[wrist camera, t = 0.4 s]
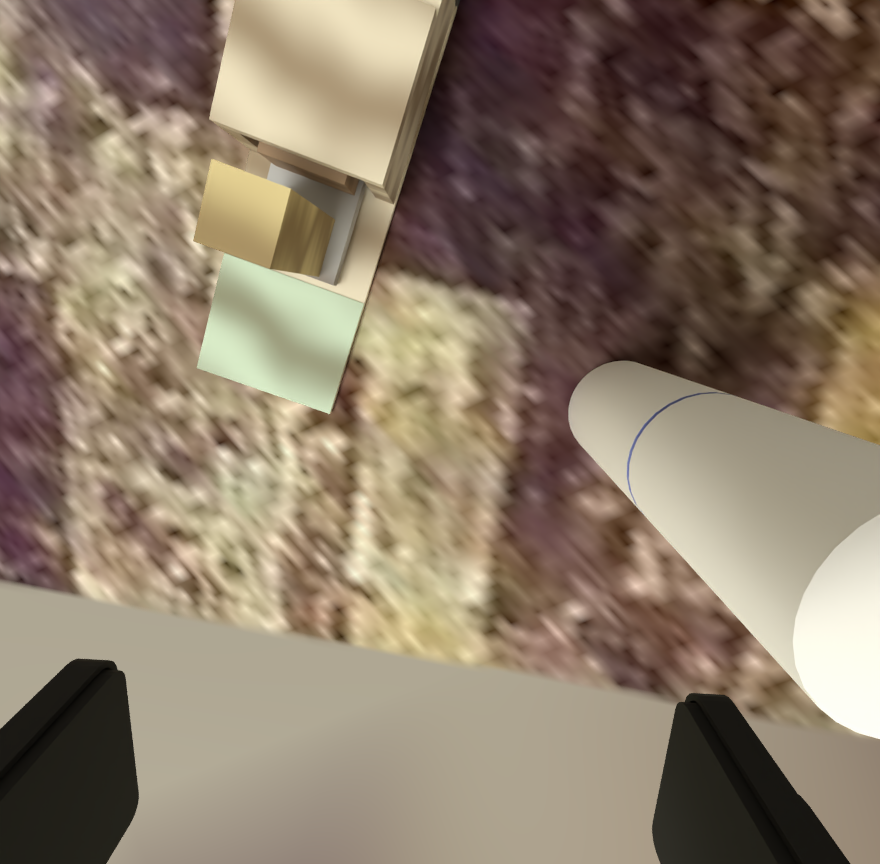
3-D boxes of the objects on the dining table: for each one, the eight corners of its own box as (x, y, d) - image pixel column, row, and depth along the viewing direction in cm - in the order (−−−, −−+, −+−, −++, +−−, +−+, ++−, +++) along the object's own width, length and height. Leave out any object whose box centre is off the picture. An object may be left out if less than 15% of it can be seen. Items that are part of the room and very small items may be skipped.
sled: (326, -30, 30) (264, -199, 20) (418, 8, 30) (404, -139, 20) (254, 255, 34) (170, 237, 24) (336, 285, 34) (289, 280, 24)
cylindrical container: (584, 350, 36) (864, 457, 12) (683, 373, 36) (1153, 522, 12) (556, 447, 38) (750, 713, 14) (651, 468, 38) (1005, 764, 14)
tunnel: (321, -133, 30) (287, -249, 23) (480, -66, 30) (489, -161, 24) (200, 366, 37) (149, 381, 30) (331, 412, 37) (308, 435, 31)
